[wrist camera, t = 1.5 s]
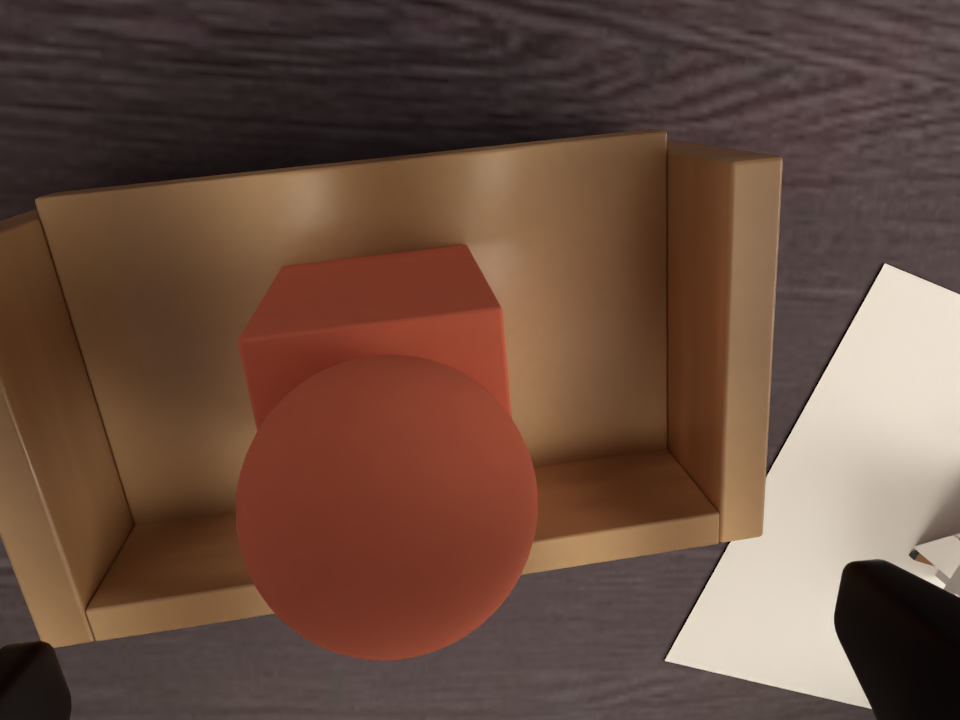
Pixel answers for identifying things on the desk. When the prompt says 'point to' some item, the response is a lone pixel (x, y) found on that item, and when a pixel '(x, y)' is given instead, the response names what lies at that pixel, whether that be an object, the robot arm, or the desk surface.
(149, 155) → the desk surface
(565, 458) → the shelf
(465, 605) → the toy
